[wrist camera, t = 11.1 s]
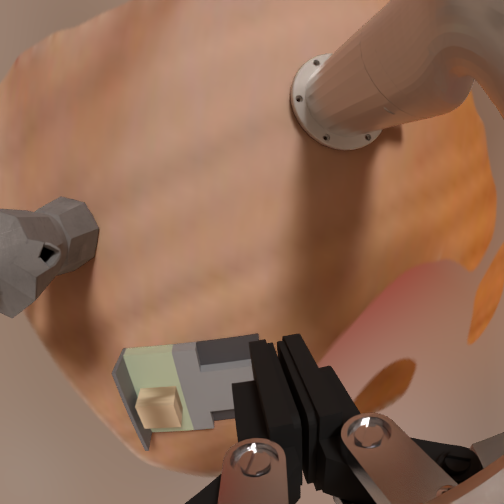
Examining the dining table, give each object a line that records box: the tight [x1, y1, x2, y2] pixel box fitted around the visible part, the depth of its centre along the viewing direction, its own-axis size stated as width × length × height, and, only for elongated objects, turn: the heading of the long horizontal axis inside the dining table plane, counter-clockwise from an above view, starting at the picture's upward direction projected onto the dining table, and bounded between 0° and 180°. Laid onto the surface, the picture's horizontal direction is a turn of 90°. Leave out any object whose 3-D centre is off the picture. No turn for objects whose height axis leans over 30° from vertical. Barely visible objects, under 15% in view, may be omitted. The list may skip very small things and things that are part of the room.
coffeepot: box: [0, 197, 99, 318], centre depth 24 cm, size 15×9×18 cm, turn 96°
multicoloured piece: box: [112, 334, 259, 451], centre depth 37 cm, size 18×14×6 cm
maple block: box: [135, 386, 183, 429], centre depth 36 cm, size 5×4×4 cm
